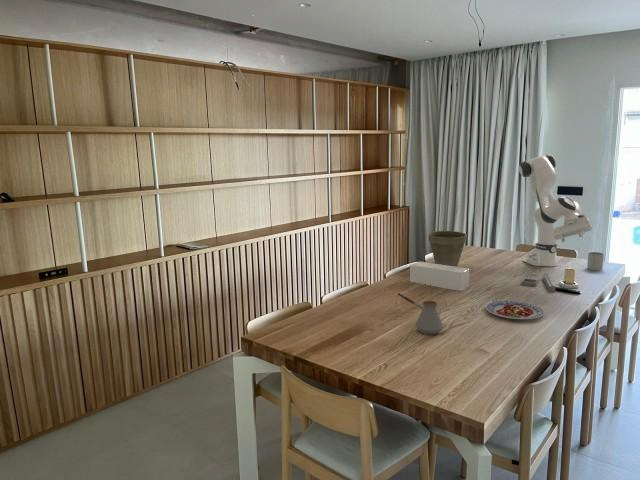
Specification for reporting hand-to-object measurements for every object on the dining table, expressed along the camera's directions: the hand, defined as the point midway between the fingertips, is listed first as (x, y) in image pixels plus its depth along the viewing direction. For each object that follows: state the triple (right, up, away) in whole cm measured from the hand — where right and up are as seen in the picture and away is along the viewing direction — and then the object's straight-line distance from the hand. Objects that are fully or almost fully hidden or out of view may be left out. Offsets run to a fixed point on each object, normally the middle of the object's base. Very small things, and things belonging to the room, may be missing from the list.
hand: (571, 238), depth 260 cm
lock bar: (-1, -27, +2) cm, 27 cm away
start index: (-1, -27, +2) cm, 27 cm away
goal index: (-20, -26, +8) cm, 34 cm away
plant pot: (-55, -18, +55) cm, 80 cm away
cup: (+34, -19, +37) cm, 54 cm away
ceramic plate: (-48, -36, -38) cm, 71 cm away
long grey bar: (-10, -26, +5) cm, 29 cm away
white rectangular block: (-71, -27, +13) cm, 77 cm away
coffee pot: (-97, -40, -55) cm, 118 cm away
